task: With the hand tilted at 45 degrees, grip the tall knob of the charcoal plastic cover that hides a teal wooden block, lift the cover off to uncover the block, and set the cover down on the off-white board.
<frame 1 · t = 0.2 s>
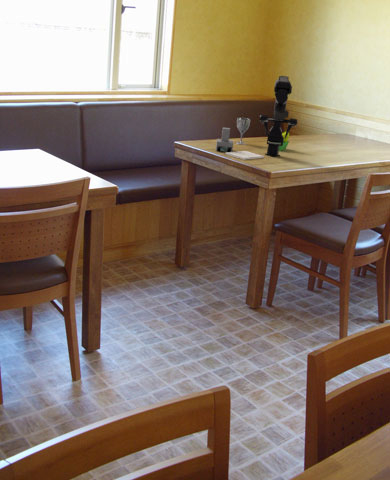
hand: (275, 137, 307), 15 cm above the table, tool pointing down, fingers open, 9 cm apart
wine glass: (240, 143, 371), on the table
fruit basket: (279, 149, 365), on the table
block: (224, 147, 343), in the cover
cover: (223, 150, 344), on the table
board: (244, 156, 334), on the table
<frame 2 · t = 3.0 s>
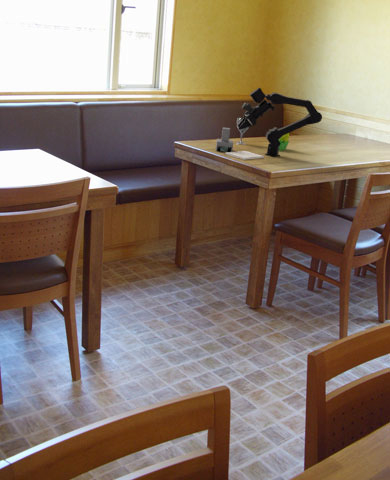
hand: (238, 127, 339), 14 cm above the table, tool tilted 45°, fingers open, 9 cm apart
nothing on the table moved.
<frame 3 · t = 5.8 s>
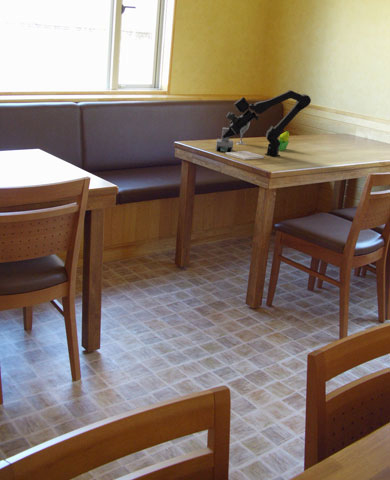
hand: (222, 136, 341), 8 cm above the table, tool tilted 45°, fingers closed on cover, 4 cm apart
cover: (223, 150, 344), on the table, touching gripper
everything else where it was.
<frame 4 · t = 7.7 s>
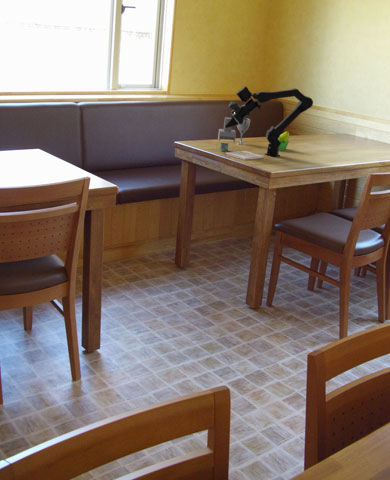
hand: (225, 126, 338), 13 cm above the table, tool tilted 45°, fingers closed on cover, 4 cm apart
cover: (226, 140, 341), point 6 cm above the table, touching gripper
everything else where it was.
when the fingers open (10 cm above the table, at t = 10.1 s): cover drops 1 cm, resting on board.
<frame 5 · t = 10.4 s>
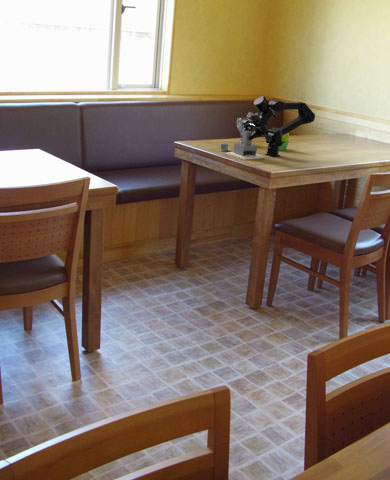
hand: (244, 138, 330), 10 cm above the table, tool tilted 45°, fingers open, 7 cm apart
cover: (244, 154, 334), point 1 cm above the table, touching board
everything else where it was.
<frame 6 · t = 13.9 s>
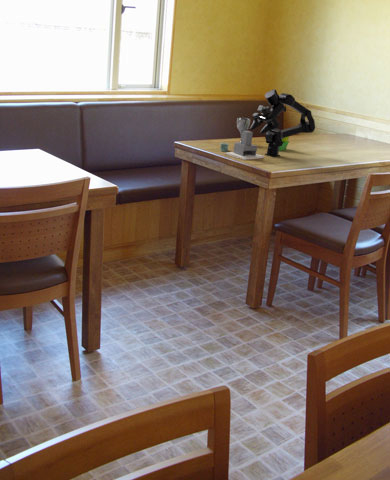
hand: (255, 131, 332), 14 cm above the table, tool tilted 45°, fingers open, 9 cm apart
nothing on the table moved.
at the end: cover inside the target area on the board (0.0 cm from its centre), point 1.0 cm above the board's base; cover tilted 0°; block moved 0.1 cm from its start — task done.
